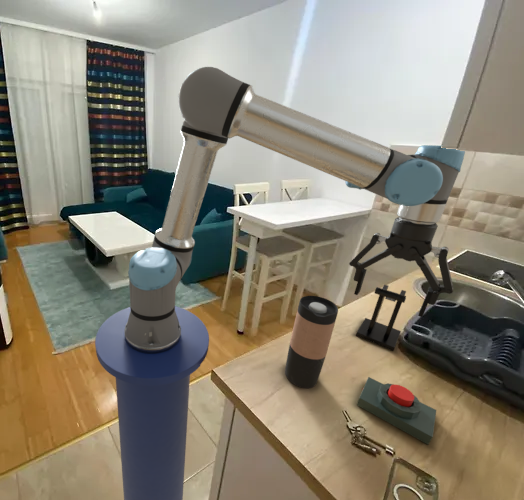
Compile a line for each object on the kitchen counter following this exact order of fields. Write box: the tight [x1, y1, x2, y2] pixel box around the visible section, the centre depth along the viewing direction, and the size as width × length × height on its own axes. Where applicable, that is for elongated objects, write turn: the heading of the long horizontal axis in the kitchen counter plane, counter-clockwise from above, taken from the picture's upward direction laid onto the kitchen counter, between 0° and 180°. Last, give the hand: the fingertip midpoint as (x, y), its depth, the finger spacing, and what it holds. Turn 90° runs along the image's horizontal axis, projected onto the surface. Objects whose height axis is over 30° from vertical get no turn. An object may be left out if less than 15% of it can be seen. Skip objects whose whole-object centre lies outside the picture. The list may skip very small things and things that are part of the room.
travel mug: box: [284, 295, 339, 389], centre depth 65 cm, size 8×8×20 cm
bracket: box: [355, 284, 407, 352], centre depth 81 cm, size 10×9×15 cm
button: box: [388, 384, 415, 407], centre depth 59 cm, size 4×4×2 cm
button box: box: [356, 376, 437, 445], centre depth 60 cm, size 12×8×4 cm, turn 46°
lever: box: [374, 286, 407, 304], centre depth 75 cm, size 13×6×2 cm, turn 136°
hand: (387, 303), depth 72 cm, fingers open, 13 cm apart
